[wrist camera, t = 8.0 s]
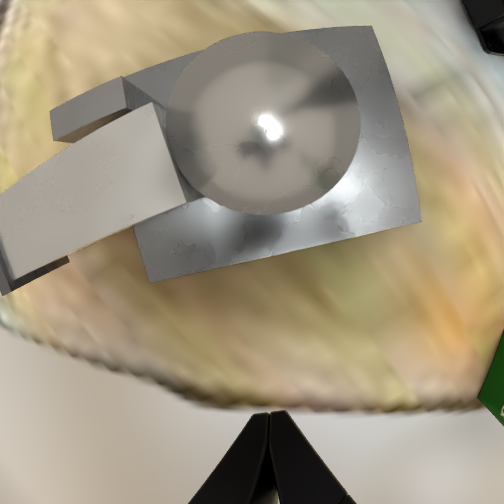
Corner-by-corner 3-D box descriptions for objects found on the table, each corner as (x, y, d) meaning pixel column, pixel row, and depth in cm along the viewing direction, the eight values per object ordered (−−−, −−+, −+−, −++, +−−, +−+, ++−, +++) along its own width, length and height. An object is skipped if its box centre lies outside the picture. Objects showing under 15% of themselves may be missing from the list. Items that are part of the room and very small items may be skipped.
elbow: (303, 58, 13) (321, 6, 8) (349, 180, 14) (392, 181, 9) (31, 180, 15) (-32, 185, 9) (67, 282, 16) (11, 316, 11)
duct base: (366, 32, 15) (406, -20, 8) (414, 219, 17) (477, 239, 11) (106, 91, 16) (46, 61, 10) (150, 278, 18) (103, 324, 12)
